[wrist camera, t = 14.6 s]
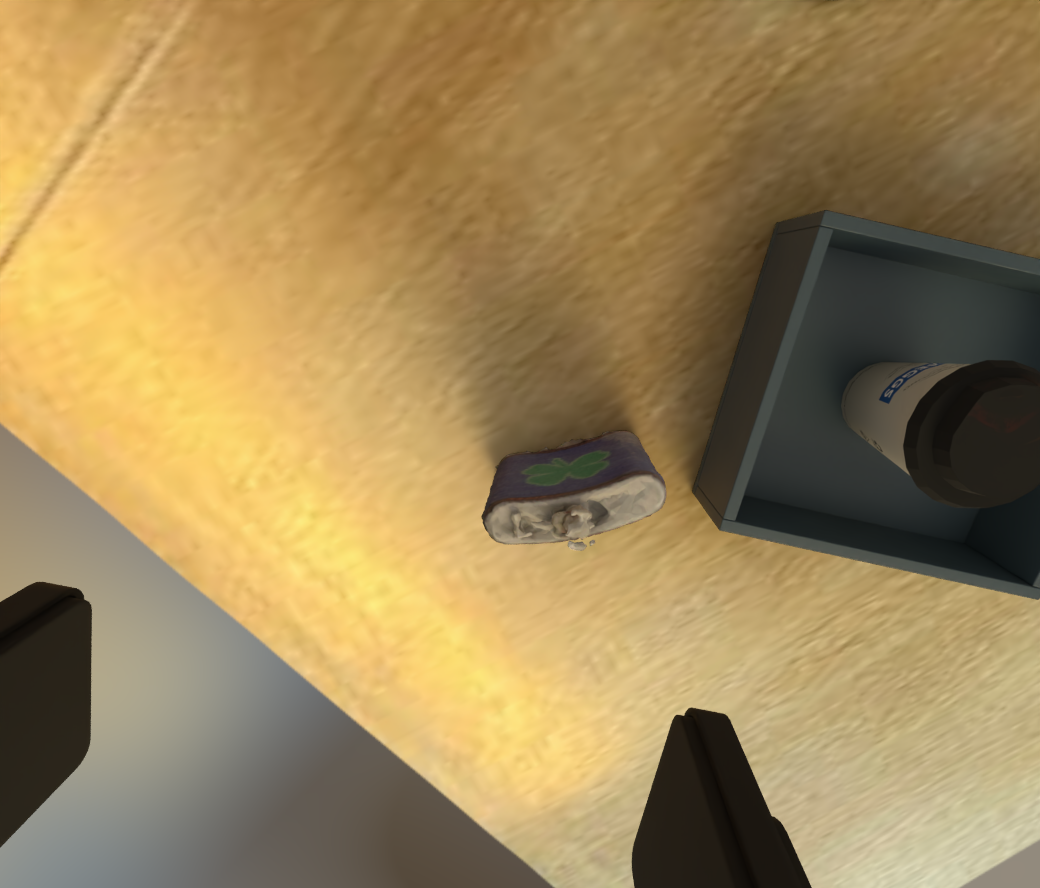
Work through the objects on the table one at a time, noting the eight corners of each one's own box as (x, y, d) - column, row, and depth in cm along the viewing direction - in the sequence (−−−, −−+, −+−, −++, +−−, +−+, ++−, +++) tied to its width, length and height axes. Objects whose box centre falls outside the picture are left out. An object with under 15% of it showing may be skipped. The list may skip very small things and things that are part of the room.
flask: (636, 424, 37) (671, 480, 26) (644, 468, 37) (682, 540, 27) (490, 455, 38) (470, 522, 27) (502, 498, 38) (485, 579, 28)
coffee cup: (940, 449, 36) (1086, 511, 26) (821, 464, 36) (920, 529, 27) (945, 333, 34) (1103, 353, 24) (819, 349, 35) (925, 375, 25)
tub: (775, 222, 33) (825, 209, 28) (1080, 291, 34) (1194, 294, 28) (691, 492, 38) (718, 530, 32) (963, 551, 38) (1039, 600, 32)
